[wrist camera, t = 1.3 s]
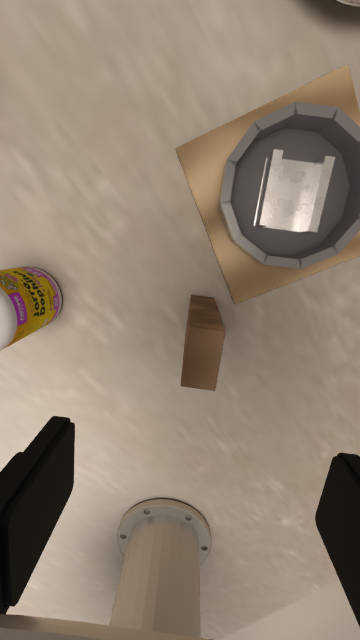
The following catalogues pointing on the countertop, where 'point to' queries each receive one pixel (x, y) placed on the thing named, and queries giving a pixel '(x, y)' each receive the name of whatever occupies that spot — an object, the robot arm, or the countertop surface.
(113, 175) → the countertop surface
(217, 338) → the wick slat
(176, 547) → the robot arm
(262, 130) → the round grey dish
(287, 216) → the clip
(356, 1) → the paper bowls
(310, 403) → the countertop surface
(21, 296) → the supplement bottle
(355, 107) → the cork mat
